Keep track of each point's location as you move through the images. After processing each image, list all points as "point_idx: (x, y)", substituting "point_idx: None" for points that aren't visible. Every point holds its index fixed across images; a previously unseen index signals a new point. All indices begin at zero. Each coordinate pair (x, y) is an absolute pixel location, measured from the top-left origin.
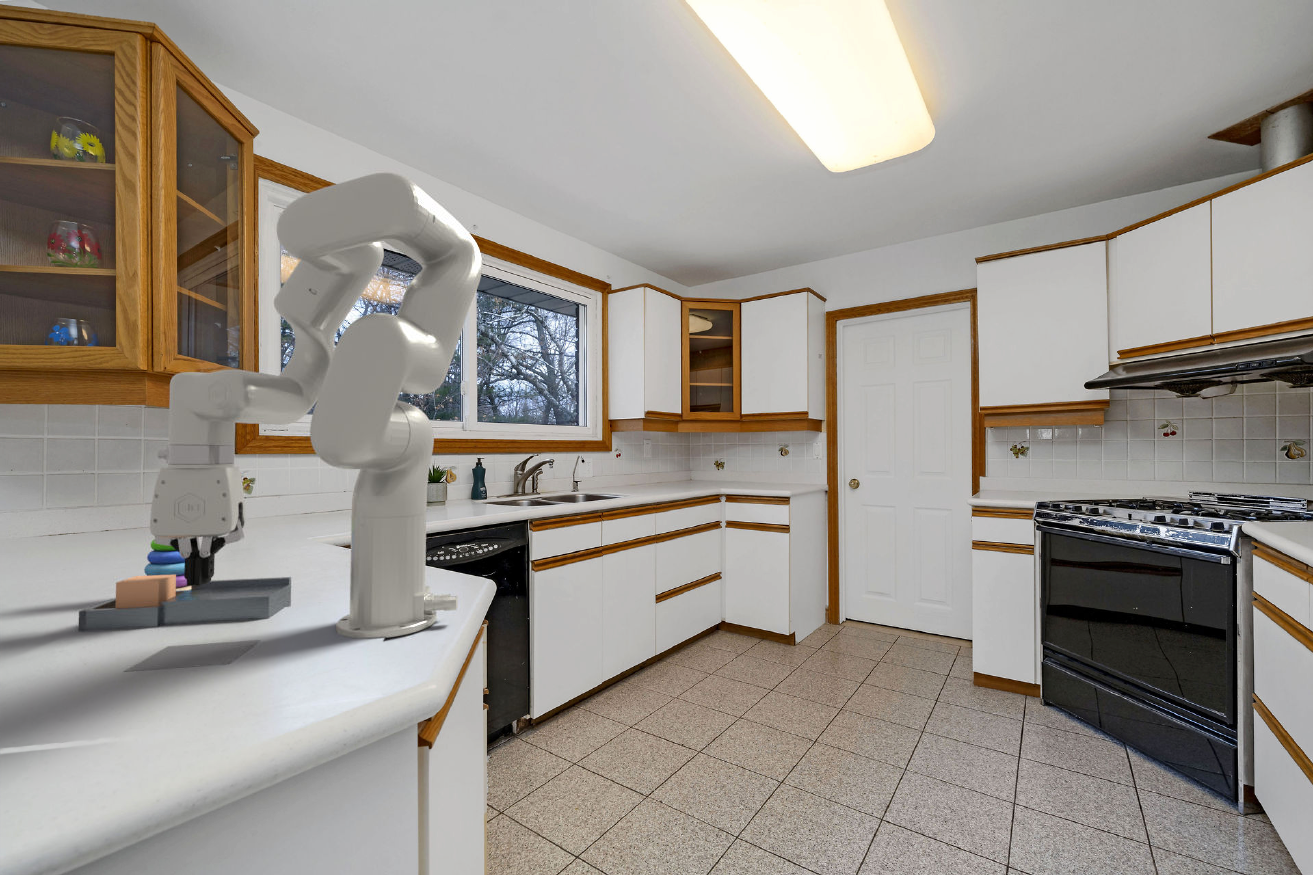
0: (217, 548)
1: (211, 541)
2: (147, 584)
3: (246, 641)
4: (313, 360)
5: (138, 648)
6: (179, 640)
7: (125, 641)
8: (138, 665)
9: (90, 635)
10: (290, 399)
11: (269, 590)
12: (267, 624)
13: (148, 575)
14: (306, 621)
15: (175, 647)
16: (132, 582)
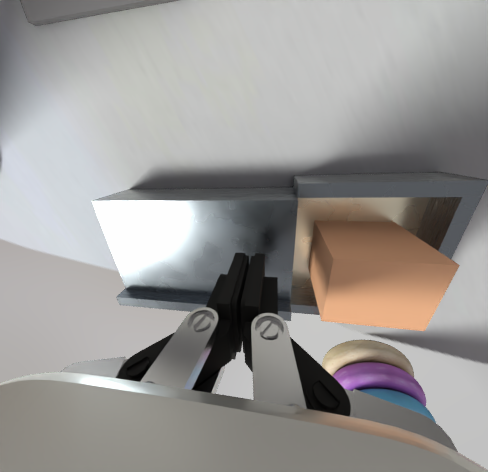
0: (160, 340)
1: (151, 366)
2: (360, 254)
3: (46, 11)
4: None
5: (261, 23)
6: (208, 80)
7: (317, 93)
8: None
9: (411, 159)
10: None
11: (127, 252)
12: (117, 168)
13: (416, 399)
14: (67, 174)
15: None
16: (407, 260)
